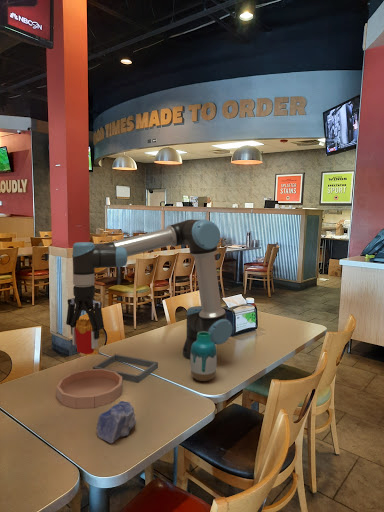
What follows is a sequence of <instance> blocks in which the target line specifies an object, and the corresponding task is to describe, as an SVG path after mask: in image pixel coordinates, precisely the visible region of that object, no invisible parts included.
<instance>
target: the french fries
mask: <svg viewBox="0 0 384 512" xmlns="http://www.w3.org/2000/svg"><path fill="white" fill-rule="evenodd" d="M76 322H77V323H76V327H75V334H76V351H77V353H79V354H84V355H90V354H93V353H94V352H95V348H94V349H92V342H91V331H92V330H93V328H92V325H91V322H90V320H89V318H88V319H85V318H81V319H80V318H79V320H77V321H76Z"/></svg>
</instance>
